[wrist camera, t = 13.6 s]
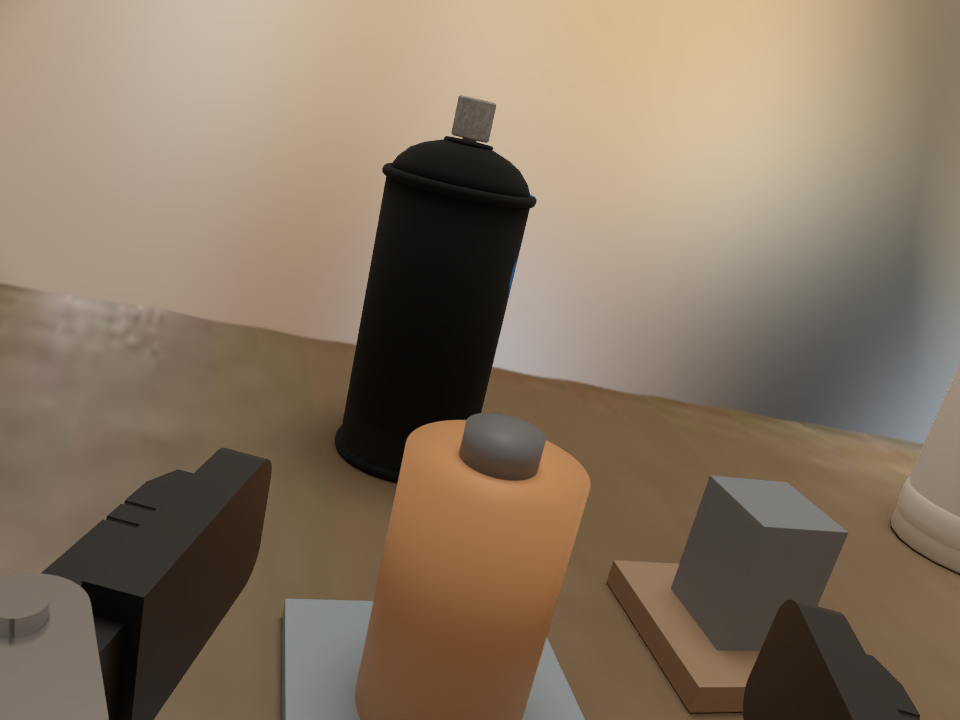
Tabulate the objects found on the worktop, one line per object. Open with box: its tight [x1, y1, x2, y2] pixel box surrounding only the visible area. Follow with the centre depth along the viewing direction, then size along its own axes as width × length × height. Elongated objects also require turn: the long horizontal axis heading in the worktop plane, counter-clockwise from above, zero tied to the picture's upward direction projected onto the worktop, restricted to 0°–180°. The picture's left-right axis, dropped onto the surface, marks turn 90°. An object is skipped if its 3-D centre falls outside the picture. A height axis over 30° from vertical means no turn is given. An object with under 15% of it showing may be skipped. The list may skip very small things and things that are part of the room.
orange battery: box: [355, 413, 590, 720], centre depth 24 cm, size 6×6×10 cm
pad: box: [282, 599, 585, 720], centre depth 25 cm, size 10×10×1 cm
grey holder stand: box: [607, 475, 848, 713], centre depth 32 cm, size 8×8×7 cm
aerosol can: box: [335, 96, 536, 482], centre depth 41 cm, size 8×8×20 cm
